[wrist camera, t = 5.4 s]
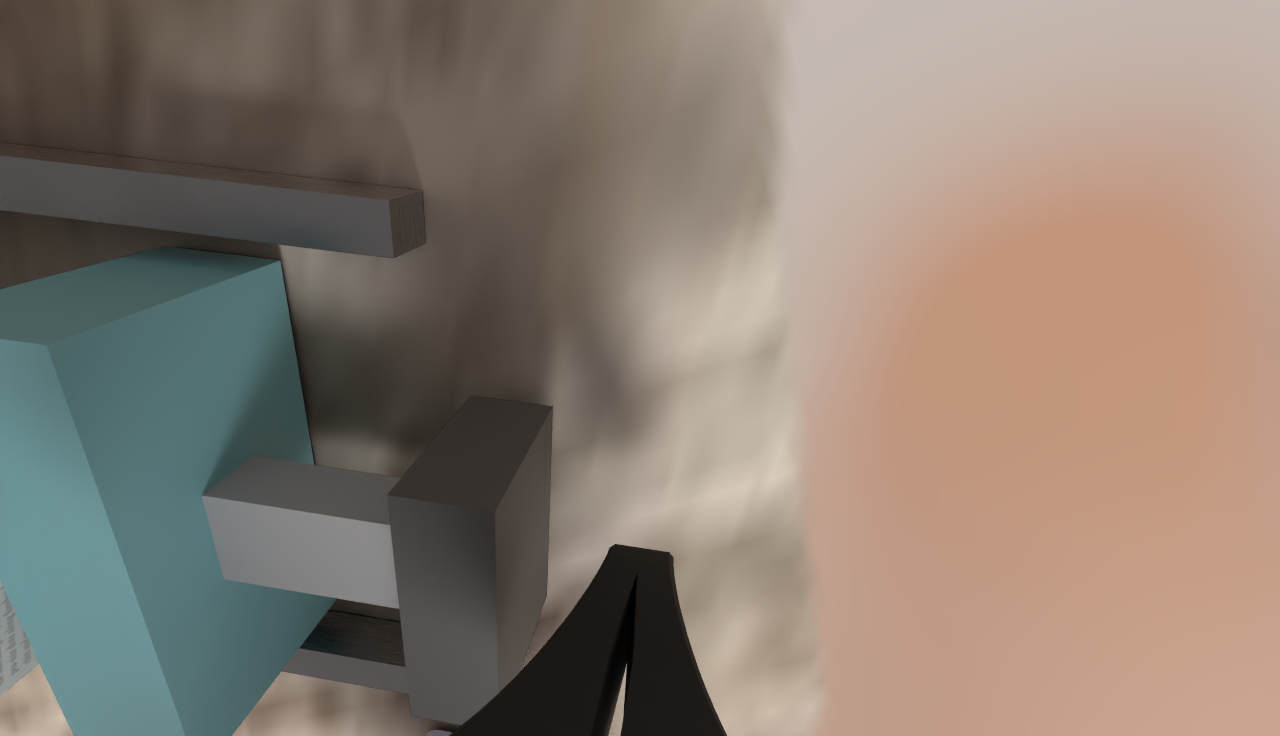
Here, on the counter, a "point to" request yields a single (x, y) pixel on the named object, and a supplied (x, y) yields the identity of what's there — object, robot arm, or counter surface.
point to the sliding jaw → (237, 506)
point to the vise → (252, 214)
